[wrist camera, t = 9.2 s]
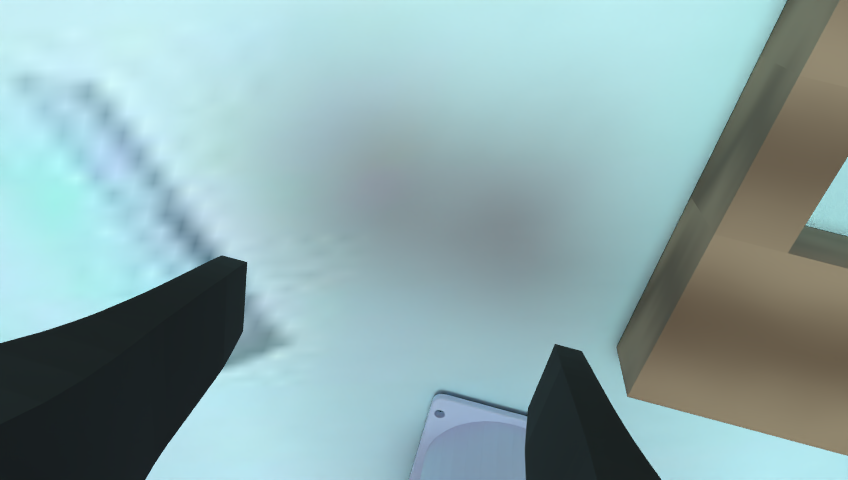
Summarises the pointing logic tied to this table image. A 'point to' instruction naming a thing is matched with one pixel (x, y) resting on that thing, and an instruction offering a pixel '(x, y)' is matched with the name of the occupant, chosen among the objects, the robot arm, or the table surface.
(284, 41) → the table surface
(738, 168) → the wooden board with hole
